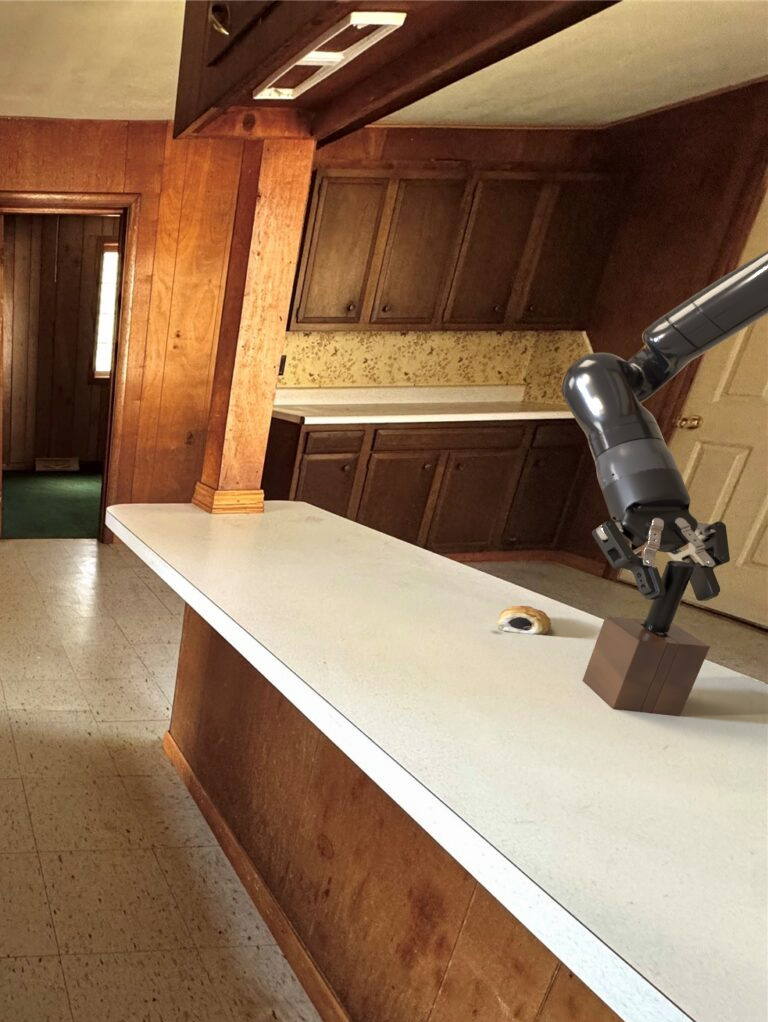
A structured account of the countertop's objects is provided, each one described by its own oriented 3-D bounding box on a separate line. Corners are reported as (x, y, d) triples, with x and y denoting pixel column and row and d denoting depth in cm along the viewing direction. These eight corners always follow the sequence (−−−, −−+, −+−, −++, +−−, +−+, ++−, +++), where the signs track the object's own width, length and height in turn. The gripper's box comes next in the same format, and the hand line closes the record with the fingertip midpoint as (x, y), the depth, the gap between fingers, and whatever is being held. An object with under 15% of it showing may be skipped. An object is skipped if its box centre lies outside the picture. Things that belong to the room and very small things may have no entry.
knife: (633, 693, 90) (685, 560, 83) (646, 704, 88) (701, 568, 81) (611, 690, 91) (661, 559, 84) (623, 701, 88) (676, 566, 81)
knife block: (641, 692, 92) (669, 620, 88) (677, 722, 85) (710, 646, 81) (579, 686, 94) (605, 616, 90) (610, 715, 87) (639, 640, 83)
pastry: (506, 613, 118) (512, 593, 117) (554, 624, 113) (561, 604, 112) (493, 629, 112) (499, 608, 111) (543, 641, 108) (551, 620, 106)
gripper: (600, 466, 86) (641, 584, 80) (727, 465, 84) (779, 586, 77) (560, 496, 93) (595, 608, 86) (676, 496, 91) (721, 610, 84)
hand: (682, 597), depth 82 cm, fingers open, 5 cm apart
